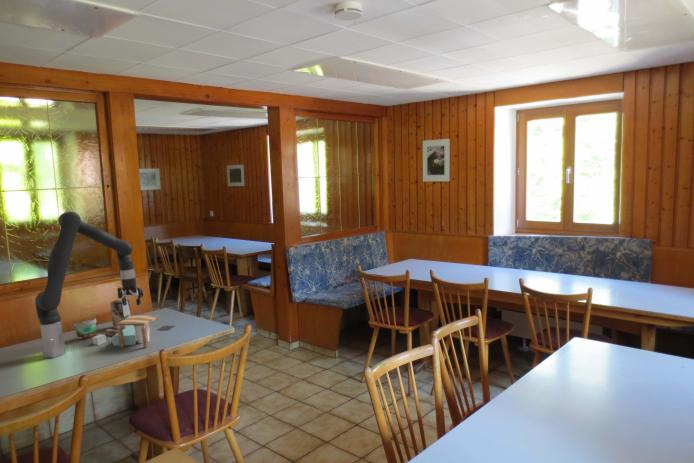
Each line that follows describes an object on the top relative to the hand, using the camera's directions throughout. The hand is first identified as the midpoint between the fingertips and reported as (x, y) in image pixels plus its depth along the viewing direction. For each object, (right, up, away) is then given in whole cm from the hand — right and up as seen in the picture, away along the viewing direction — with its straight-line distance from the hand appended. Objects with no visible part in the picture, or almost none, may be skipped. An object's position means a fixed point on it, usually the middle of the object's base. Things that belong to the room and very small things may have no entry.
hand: (131, 305), depth 281 cm
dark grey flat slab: (+17, -15, +7) cm, 23 cm away
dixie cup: (+13, -18, -14) cm, 26 cm away
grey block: (-12, -19, -12) cm, 26 cm away
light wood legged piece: (+12, -18, -16) cm, 27 cm away
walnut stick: (-10, -17, +1) cm, 20 cm away
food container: (-24, -19, -1) cm, 30 cm away
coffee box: (-12, -16, +15) cm, 25 cm away
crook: (+5, -17, -7) cm, 19 cm away
